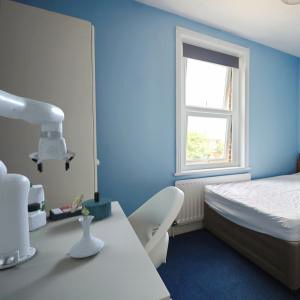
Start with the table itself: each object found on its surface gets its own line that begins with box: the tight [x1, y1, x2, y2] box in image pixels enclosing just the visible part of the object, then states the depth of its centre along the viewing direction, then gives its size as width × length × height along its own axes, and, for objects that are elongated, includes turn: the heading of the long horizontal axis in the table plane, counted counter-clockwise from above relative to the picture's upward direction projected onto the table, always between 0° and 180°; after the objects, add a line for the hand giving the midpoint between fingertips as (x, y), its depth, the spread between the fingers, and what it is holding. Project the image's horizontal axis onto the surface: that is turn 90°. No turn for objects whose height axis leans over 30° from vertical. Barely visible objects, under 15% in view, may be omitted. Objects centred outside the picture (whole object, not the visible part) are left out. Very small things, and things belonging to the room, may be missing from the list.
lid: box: [81, 191, 113, 207], centre depth 115 cm, size 15×15×6 cm
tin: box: [81, 202, 112, 222], centre depth 115 cm, size 14×14×8 cm
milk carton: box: [28, 182, 46, 212], centre depth 111 cm, size 9×9×20 cm
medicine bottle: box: [28, 203, 47, 232], centre depth 102 cm, size 7×7×12 cm
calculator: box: [48, 205, 82, 222], centre depth 118 cm, size 11×4×15 cm
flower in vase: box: [68, 191, 105, 259], centre depth 79 cm, size 13×11×25 cm
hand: (54, 171), depth 100 cm, fingers open, 9 cm apart
